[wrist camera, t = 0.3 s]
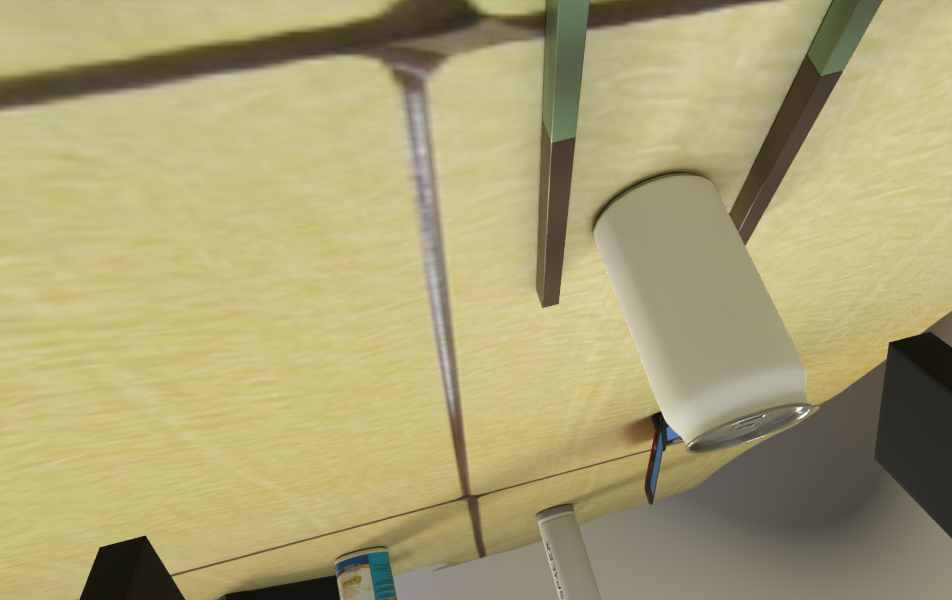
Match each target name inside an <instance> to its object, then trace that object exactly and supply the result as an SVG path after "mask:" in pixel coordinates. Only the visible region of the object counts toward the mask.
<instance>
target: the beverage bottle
mask: <svg viewBox="0 0 952 600" xmlns="http://www.w3.org/2000/svg"><path fill="white" fill-rule="evenodd" d="M335 571H336V576H337V582H338V589H339V596H340V600H397V597H396V592H395V587H394V582H393V576H392V571H391V566H390V562H389V554H388V550H387V549H386V548H370V549H365V550H360V551H357V552H353V553H350V554H347V555H344V556H342V557H340V558H338V559H337V560H336V561H335Z"/></svg>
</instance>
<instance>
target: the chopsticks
mask: <svg viewBox="0 0 952 600" xmlns="http://www.w3.org/2000/svg"><path fill="white" fill-rule="evenodd" d="M882 1H883V0H834V1H833V3H832V5H831V7H830V9H829V11H828V13H827V15H826V17H825V19H824V21H823V23H822V25H821V28H820V30H819V32H818V34H817V36H816V38H815V40H814V42H813V44H812V46H811V48H810V50H809V52H808V56H807V57H806V59H805V61H804V63H803V65H802V67H801V69H800V71H799V73H798V75H797V77H796V79H795V81H794V83H793V85H792V87H791V90H790V92H789V94H788V96H787V98H786V100H785V102H784V104H783V106H782V108H781V110H780V112H779V114H778V116H777V119H776V121H775V123H774V125H773V127H772V129H771V131H770V133H769V135H768V137H767V139H766V141H765V143H764V145H763V147H762V150H761V152H760V154H759V156H758V158H757V160H756V162H755V164H754V166H753V168H752V170H751V172H750V174H749V176H748V179H747V181H746V183H745V185H744V187H743V189H742V191H741V193H740V195H739V197H738V199H737V201H736V203H735V205H734V207H733V210H732V212H731V214H730V217H731V219H732V221H733V223H734V225H735V227H736V229H737V231H738V233H739V235H740V237H741V239H742V241H743V243H744V245H746V244H747V242H748V240H749V238H750V236H751V235H752V233H753V231H754V229H755V228H756V226H757V224H758V222H759V220H760V219H761V217H762V215H763V213H764V211H765V210H766V208H767V206H768V204H769V203H770V201H771V199H772V197H773V195H774V194H775V192H776V190H777V188H778V186H779V185H780V183H781V181H782V179H783V178H784V176H785V174H786V172H787V170H788V169H789V167H790V165H791V163H792V161H793V160H794V158H795V156H796V154H797V153H798V151H799V149H800V147H801V145H802V144H803V142H804V140H805V138H806V137H807V135H808V133H809V131H810V129H811V128H812V126H813V124H814V122H815V120H816V119H817V117H818V115H819V113H820V112H821V110H822V108H823V106H824V104H825V103H826V101H827V99H828V97H829V95H830V94H831V92H832V90H833V88H834V87H835V85H836V83H837V81H838V79H839V78H840V76H841V74H842V72H843V70H844V69H845V67H846V65H847V63H848V62H849V60H850V58H851V56H852V54H853V53H854V51H855V49H856V47H857V45H858V44H859V42H860V40H861V38H862V37H863V35H864V33H865V31H866V29H867V28H868V26H869V24H870V22H871V20H872V19H873V17H874V15H875V13H876V12H877V10H878V8H879V6H880V4H881V3H882ZM588 10H589V0H547V8H546V37H545V65H544V94H543V122H542V150H541V179H540V207H539V236H538V264H537V294H538V297H539V300H540V303H541V306H542V308H544V307H548V306H552V305H556V304H559V295H560V285H561V276H562V266H563V256H564V246H565V236H566V227H567V217H568V207H569V197H570V187H571V178H572V168H573V158H574V148H575V138H576V128H577V118H578V108H579V99H580V89H581V79H582V69H583V59H584V49H585V40H586V30H587V20H588Z"/></svg>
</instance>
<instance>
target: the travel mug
mask: <svg viewBox="0 0 952 600" xmlns="http://www.w3.org/2000/svg"><path fill="white" fill-rule="evenodd" d="M574 514H575V513H574V510H573V506H572V505H570V504H567V505H560V506H556V507H553V508H549V509H546V510H544V511H542V512H540V513H538V514H537V515H536V518H537V521H538V524H539V528H540V532H541V535H542V539H543V542H544V546H545V549H546V553H547V556H548V560H549V563H550V567H551V570H552V574H553V577H554V581H555V584H556V588H557V592H558V595H559V598H560V600H601V597H600V594H599V590H598V587H597V584H596V581H595V577H594V575H593V571H592V568H591V564H590V561H589V558H588V555H587V552H586V548H585V545H584V542H583V539H582V535H581V532H580V529H579V526H578V523H577V519H576V516H575V515H574Z"/></svg>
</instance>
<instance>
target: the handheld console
mask: <svg viewBox="0 0 952 600" xmlns="http://www.w3.org/2000/svg"><path fill="white" fill-rule="evenodd" d="M652 421H653V424H654V428H655V434H654V439H653V444H652V449H651V454H650V459H649V464H648V469H647V474H646V479H645V493H646V496H647V499H648V502H649V504H650V505H651V504H652V503H653V499H654V494H655V489H656V484H657V478H658V473H659V468H660V463H661V458H662V451H665V449H666V445H667V444H670V443H674V442H677V441H680V440H683V439H682V438H681V437H680V436H679V435H678V434H677V433H676V432H675V431H674V430H673V429H672V428H671V427H670V426H669V425H668V424H667V423H666V421H665V419H664V417H663V415H662V414H659V415H654V416H653V417H652Z"/></svg>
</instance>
